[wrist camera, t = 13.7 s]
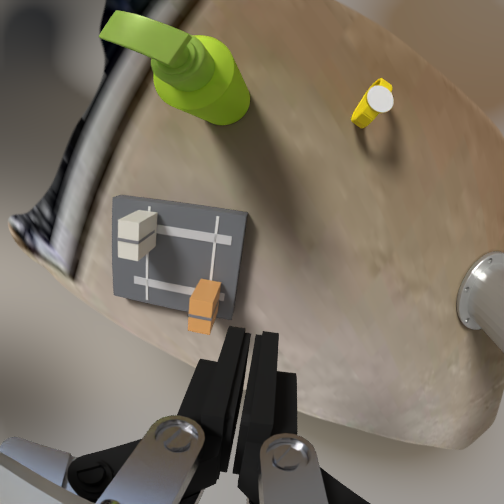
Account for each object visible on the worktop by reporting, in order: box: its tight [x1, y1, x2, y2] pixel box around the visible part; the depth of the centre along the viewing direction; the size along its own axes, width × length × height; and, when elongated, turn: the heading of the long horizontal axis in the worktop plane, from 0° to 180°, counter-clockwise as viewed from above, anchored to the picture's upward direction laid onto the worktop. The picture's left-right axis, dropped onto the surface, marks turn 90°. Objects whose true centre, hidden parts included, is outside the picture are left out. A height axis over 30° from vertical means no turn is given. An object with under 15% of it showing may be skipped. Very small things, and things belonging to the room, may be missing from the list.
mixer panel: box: [112, 195, 248, 320], centre depth 35 cm, size 16×13×2 cm
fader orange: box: [188, 279, 221, 335], centre depth 33 cm, size 2×4×5 cm, turn 171°
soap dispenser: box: [99, 11, 250, 125], centre depth 21 cm, size 6×7×20 cm
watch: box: [351, 78, 394, 128], centre depth 26 cm, size 6×3×6 cm, turn 148°
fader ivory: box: [117, 210, 158, 261], centre depth 31 cm, size 2×4×5 cm, turn 171°
